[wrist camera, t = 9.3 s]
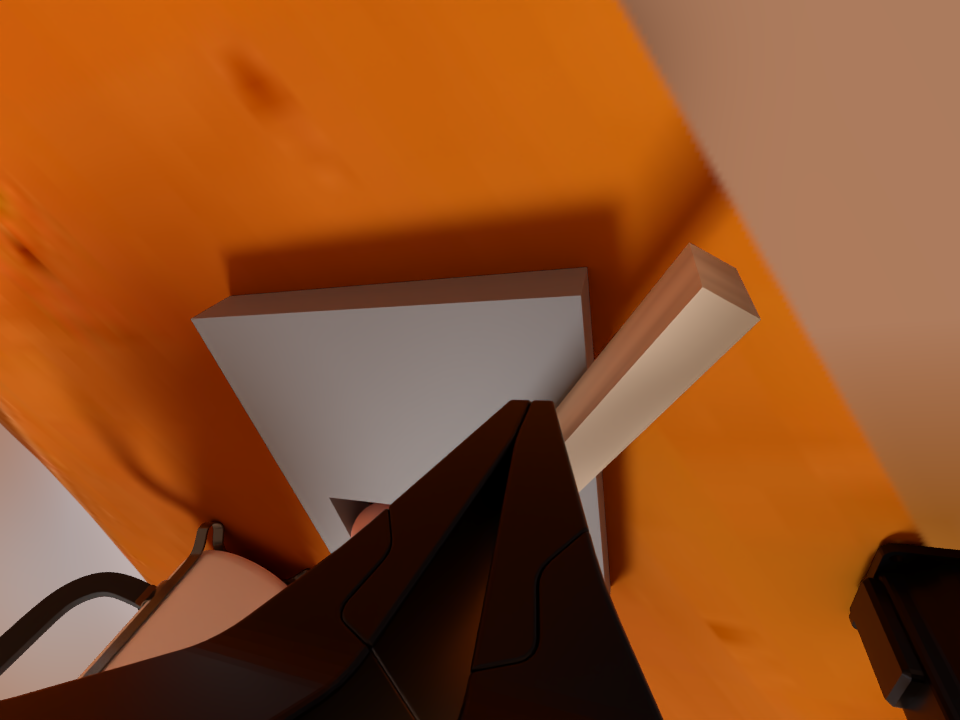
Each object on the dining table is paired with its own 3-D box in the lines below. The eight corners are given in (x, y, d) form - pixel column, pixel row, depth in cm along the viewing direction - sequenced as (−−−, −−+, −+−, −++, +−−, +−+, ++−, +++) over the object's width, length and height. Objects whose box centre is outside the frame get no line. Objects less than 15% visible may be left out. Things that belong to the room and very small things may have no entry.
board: (587, 266, 16) (580, 295, 14) (610, 587, 27) (608, 629, 25) (229, 296, 22) (190, 318, 21) (363, 548, 33) (346, 579, 31)
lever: (743, 273, 12) (777, 337, 9) (447, 589, 27) (424, 652, 24) (681, 238, 12) (695, 293, 9) (418, 574, 27) (392, 635, 24)
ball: (431, 516, 26) (401, 483, 30) (368, 535, 24) (343, 497, 27) (424, 571, 28) (396, 533, 31) (363, 594, 25) (339, 551, 28)
